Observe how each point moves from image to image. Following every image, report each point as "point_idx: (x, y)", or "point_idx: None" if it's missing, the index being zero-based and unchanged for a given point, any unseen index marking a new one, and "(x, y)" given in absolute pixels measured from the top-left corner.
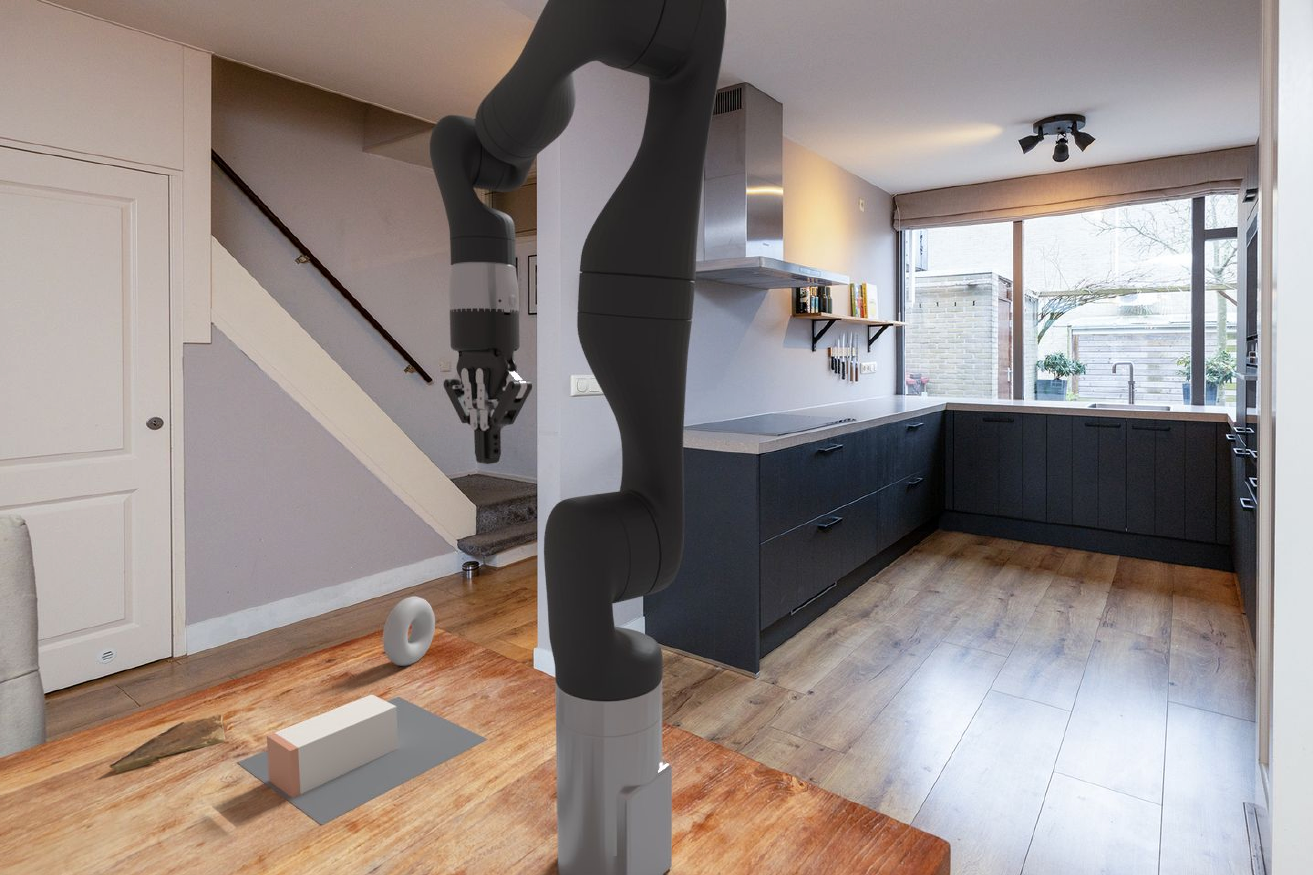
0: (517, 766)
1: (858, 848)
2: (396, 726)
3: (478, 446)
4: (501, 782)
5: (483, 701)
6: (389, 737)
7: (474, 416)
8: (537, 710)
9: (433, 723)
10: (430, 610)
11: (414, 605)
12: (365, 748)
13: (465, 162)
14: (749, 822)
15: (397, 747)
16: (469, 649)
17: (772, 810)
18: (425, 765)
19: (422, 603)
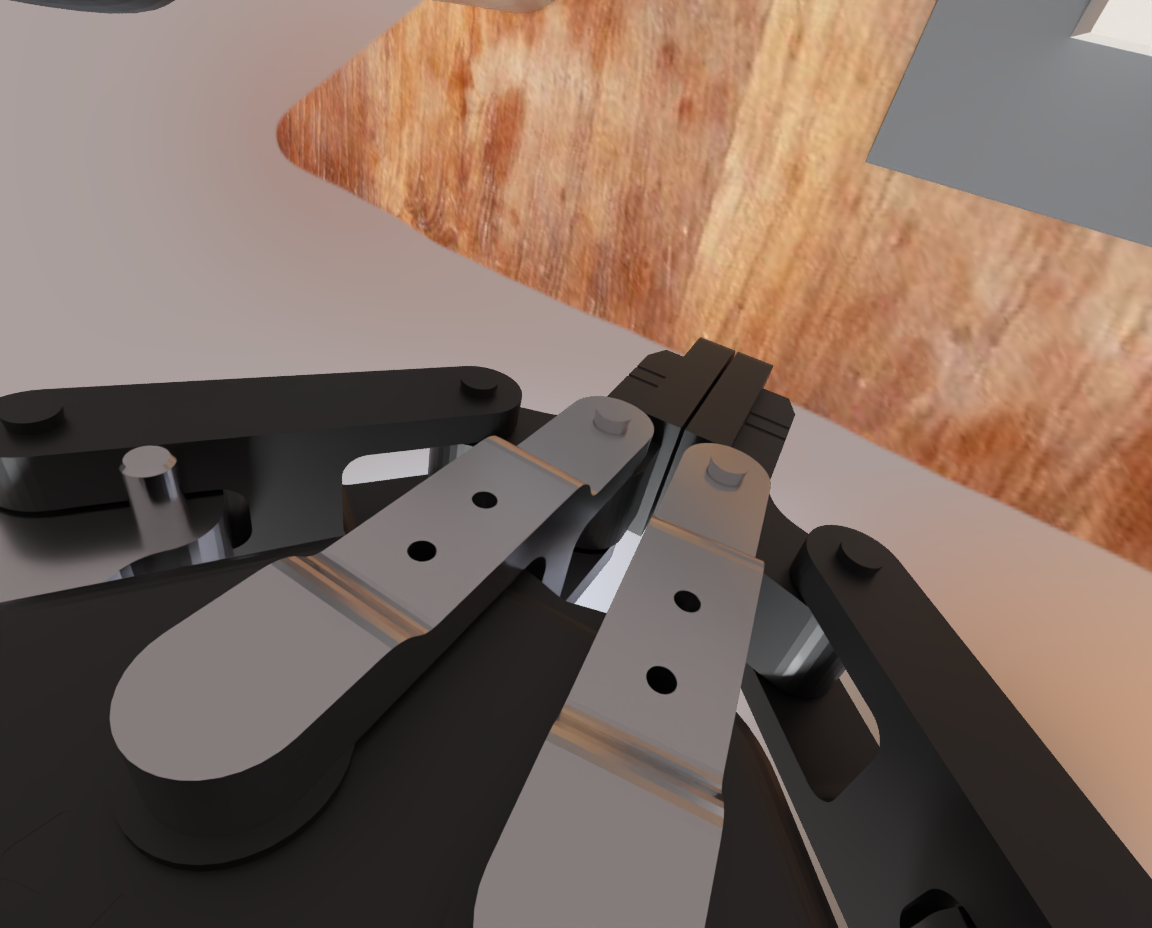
0: (770, 108)
1: (322, 122)
2: (1081, 32)
3: (727, 387)
4: (775, 43)
5: (955, 315)
6: (1091, 10)
7: (699, 505)
8: (821, 311)
9: (1029, 175)
10: None
11: None
12: None
13: None
14: (421, 118)
15: (1071, 35)
16: (1112, 539)
17: (411, 157)
18: (957, 4)
19: None
